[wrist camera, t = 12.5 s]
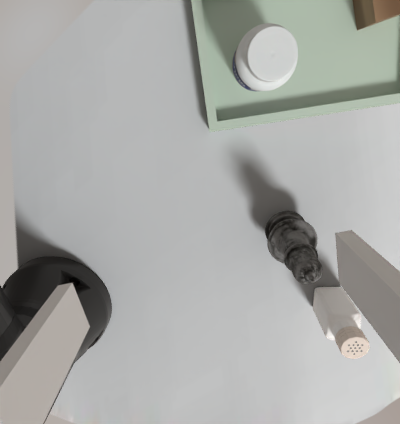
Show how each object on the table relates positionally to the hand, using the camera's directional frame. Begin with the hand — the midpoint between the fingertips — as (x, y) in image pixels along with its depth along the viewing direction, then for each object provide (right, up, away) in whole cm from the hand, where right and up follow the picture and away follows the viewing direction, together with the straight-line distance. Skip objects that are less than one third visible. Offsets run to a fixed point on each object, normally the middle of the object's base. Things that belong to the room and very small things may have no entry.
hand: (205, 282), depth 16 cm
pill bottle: (+6, +19, +19) cm, 27 cm away
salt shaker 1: (+11, +1, +26) cm, 28 cm away
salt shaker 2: (+18, -8, +29) cm, 35 cm away
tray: (+11, +21, +18) cm, 30 cm away
